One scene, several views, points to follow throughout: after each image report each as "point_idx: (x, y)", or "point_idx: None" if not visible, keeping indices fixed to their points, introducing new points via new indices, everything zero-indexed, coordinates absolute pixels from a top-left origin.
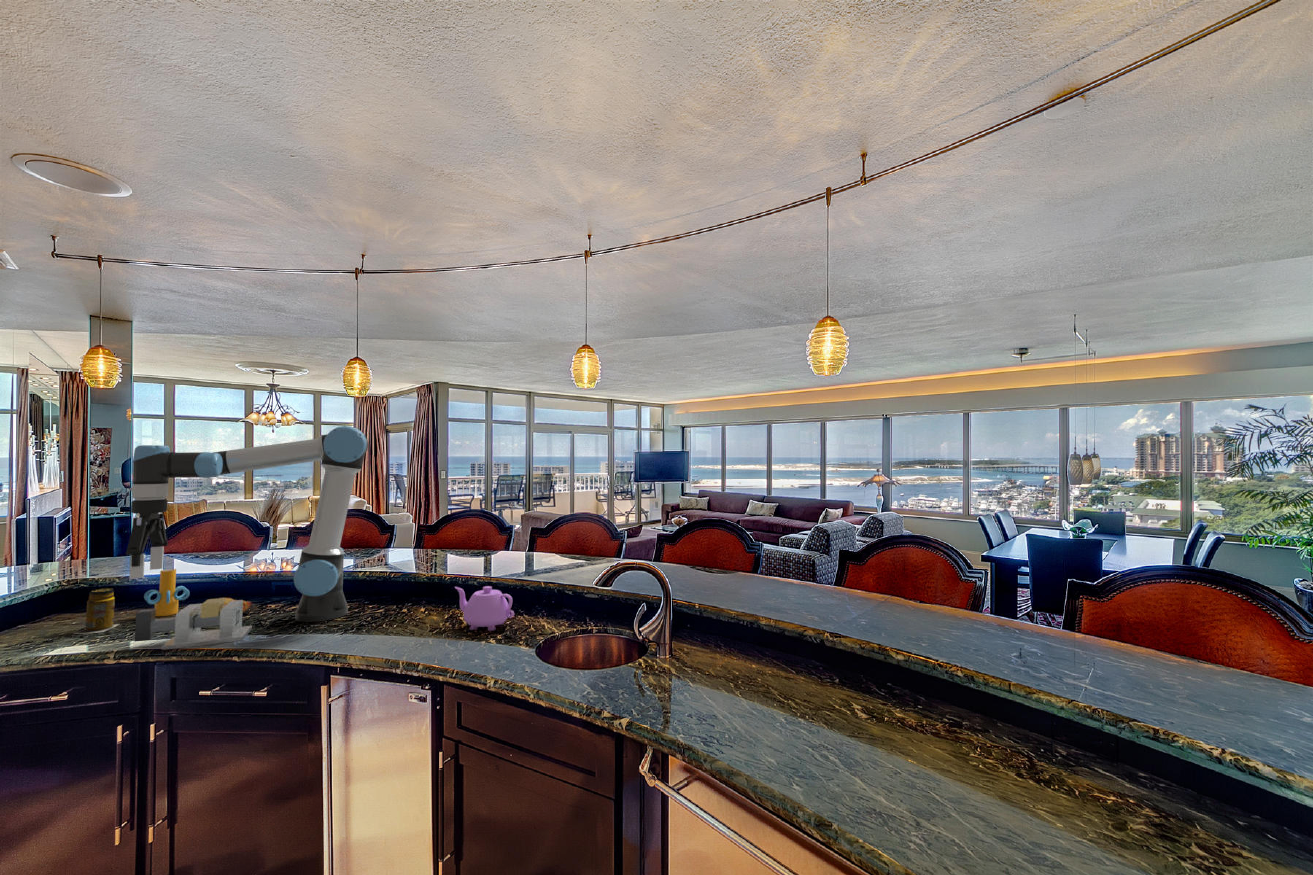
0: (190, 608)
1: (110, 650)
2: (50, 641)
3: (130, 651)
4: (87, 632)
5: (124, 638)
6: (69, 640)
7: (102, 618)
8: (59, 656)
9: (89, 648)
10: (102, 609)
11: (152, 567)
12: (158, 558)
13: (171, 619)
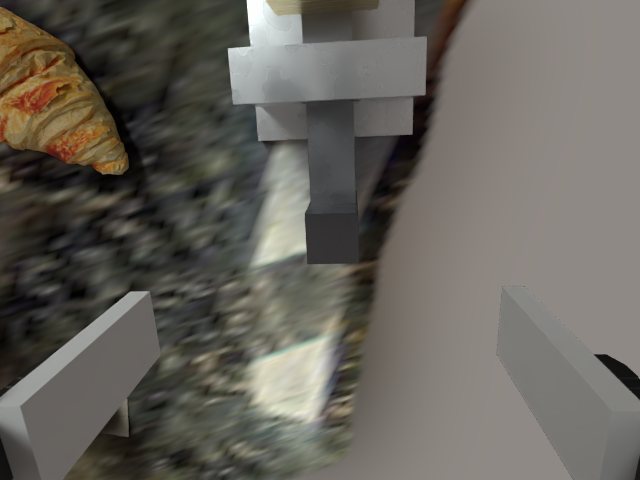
0: (323, 67)
1: (344, 282)
2: (183, 455)
3: (382, 223)
4: (117, 410)
5: (217, 295)
6: (188, 419)
7: None
8: (349, 381)
9: (296, 343)
10: None
11: (152, 350)
12: (108, 357)
13: (347, 135)
